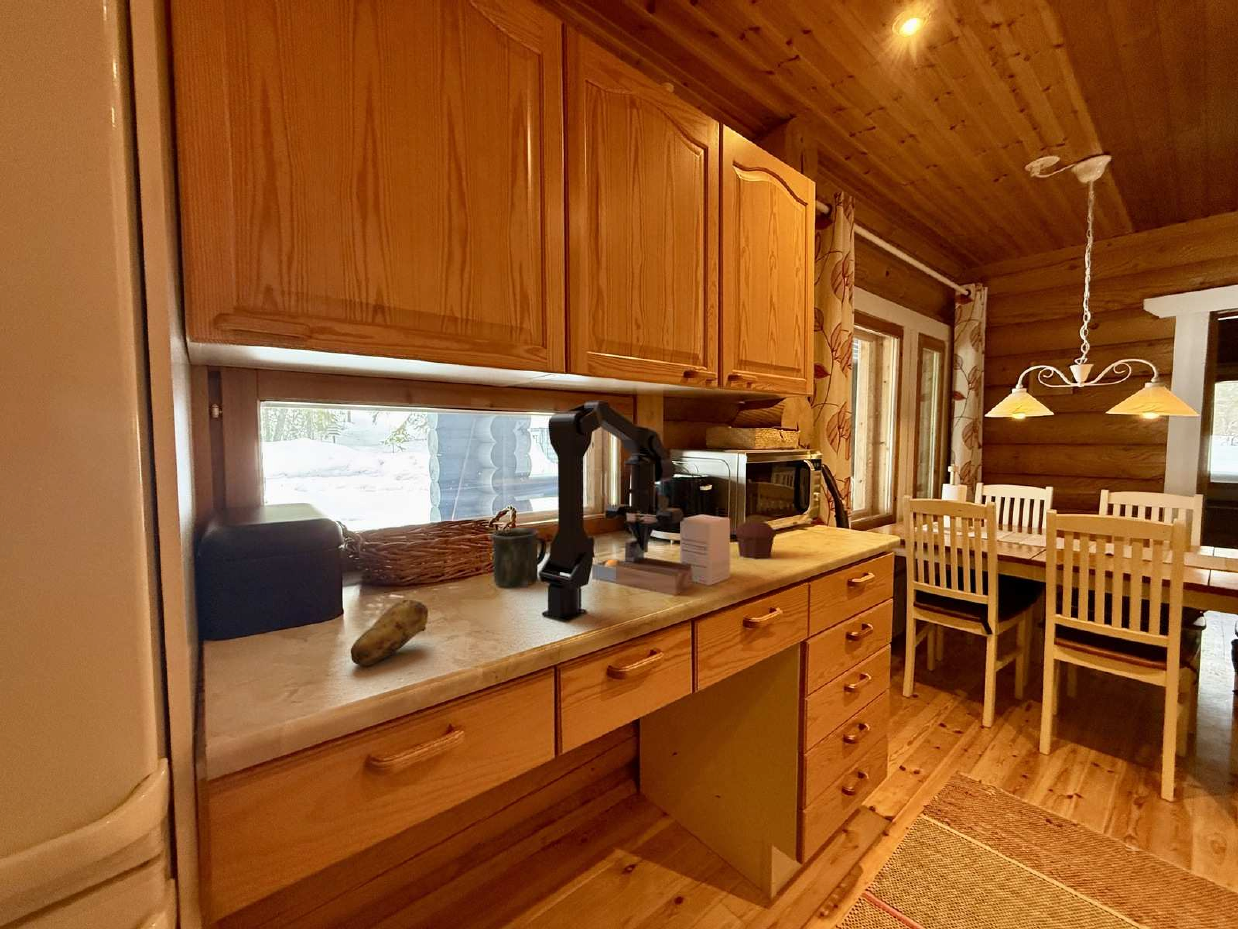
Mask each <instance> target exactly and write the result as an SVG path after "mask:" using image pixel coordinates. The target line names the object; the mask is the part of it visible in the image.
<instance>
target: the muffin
mask: <svg viewBox="0 0 1238 929" xmlns="http://www.w3.org/2000/svg"><path fill="white" fill-rule="evenodd" d="M734 533H735V535H736V538H737V545H738V552H739V556H740V557H742V556H743V558H746V559H751V558H753V559H752V560H765V558H766V559H769V558H771V555H772V550H773V544H774V538H775V537H776V536H777V534H776V531H775V530H774V528H773V527H772V526H771V525H770V524H769V523H767V522H765V521H763V520H756V519H755V520H754V519H753V520H751V519H750V520H746V521H744V522H742V523H741V524H739V525H738V526H737V528H736V530H735V531H734Z"/></svg>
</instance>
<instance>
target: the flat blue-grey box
mask: <svg viewBox="0 0 1238 929" xmlns="http://www.w3.org/2000/svg"><path fill="white" fill-rule="evenodd" d="M611 559H615V560H617V561H625V559H618V558H613V557H609V558H607V559H604V560H601V561H597V562H595V563H593V564H592V569H591V573H592V577H591V578H592V579H593V578H596V579H595V580H597V579H600V580H599V581H602V580H603V582H609V583H612V582H614V583H613V584H616V568H614V567H608V566H605V564H606V562H607V561H608V560H611Z"/></svg>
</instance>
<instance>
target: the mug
mask: <svg viewBox="0 0 1238 929" xmlns="http://www.w3.org/2000/svg"><path fill="white" fill-rule="evenodd" d="M539 534H540V531H539V530H537V529H533V528H527V527H526V528H522V527H521V528H517V527H516V528H506V529H499V530H496V531H494V532H492V533H491V534H490V536H491V537H492V538H493V539H492V541H493V542H492V543H493V544H492V547H493V551H492V552H493V582H494V583H495V585H496V586H498V587H500V588H501V587H502V588H521V587H527V586H530V585H533V584H535V583H537V580H538V577H539V572H538V571H539V570H538V568H539V567H538V566H539V565H540V564H541V563H542V562H543V561H544V559H545V556H546V553H547V541H546V540H545V538H544V537H542V536H541V537H540V536H538V535H539ZM538 541H539V542H540V549H539V554H538Z"/></svg>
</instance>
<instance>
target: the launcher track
mask: <svg viewBox="0 0 1238 929" xmlns="http://www.w3.org/2000/svg"><path fill="white" fill-rule="evenodd" d="M615 584H616V585H622V586H626V585H627V586H626V587H632V588H638V589H641V590H645V591H653V592H657V593H662V594H667V595H671V596H677V595H678V594H680V593H682V592H685V591H686V590H688V589H690V588H692V587H693V582H692V569H691V565H689V564H683V563H680V562H676V561H669V560H663V559H657V558H652V557H651V558H650V557H646V556H644V563H642V564H636V563H631V562H625V561H617V566H616V583H615Z"/></svg>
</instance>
